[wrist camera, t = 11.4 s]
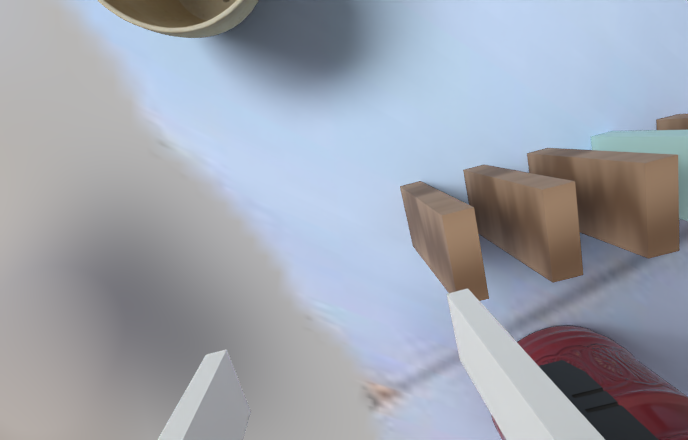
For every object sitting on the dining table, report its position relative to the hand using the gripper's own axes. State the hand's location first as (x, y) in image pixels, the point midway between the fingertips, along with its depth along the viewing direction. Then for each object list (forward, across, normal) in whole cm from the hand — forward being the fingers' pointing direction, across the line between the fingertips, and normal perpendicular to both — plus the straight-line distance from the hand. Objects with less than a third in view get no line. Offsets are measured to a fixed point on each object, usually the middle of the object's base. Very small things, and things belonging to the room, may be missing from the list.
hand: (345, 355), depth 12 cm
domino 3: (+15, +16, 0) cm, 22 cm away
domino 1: (+15, +6, 0) cm, 17 cm away
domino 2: (+15, +12, 0) cm, 19 cm away
